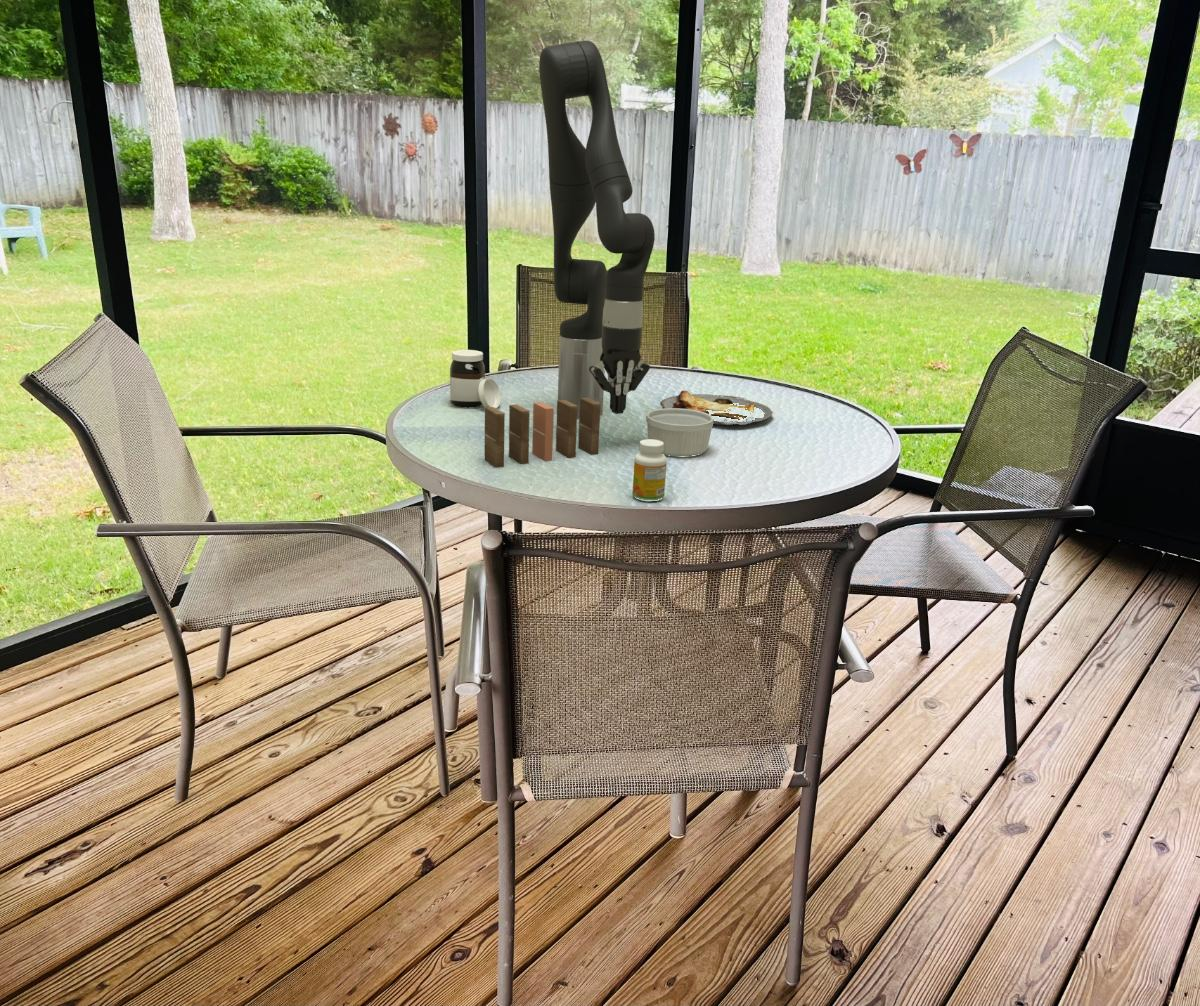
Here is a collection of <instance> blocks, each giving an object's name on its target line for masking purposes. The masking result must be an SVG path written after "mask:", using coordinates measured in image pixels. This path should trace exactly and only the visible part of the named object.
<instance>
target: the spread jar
mask: <svg viewBox="0 0 1200 1006" xmlns="http://www.w3.org/2000/svg"><path fill="white" fill-rule="evenodd" d="M451 359H452V361H451V363H450V368H449V392H450V394H449V396H450V398H449V399H450V403H451V405H453V406H454V407H457V408H463V407H467V408H466V409H470V408H469V407H474V408H480V407H481V406H483V407H484V409H485V408H486V407H494V408H496V409H498V407H499V406H500V403H501V396H502V395H501V392H500V388H499V385H498V383H497V382H496V381H495V380H494V379H493V378H491V377H488V378H486V368H485V367H486V366H485V364H484V353H483V351H479V350H477V349H476V350H475V349H459V350H453V351H452V353H451ZM479 406H480V407H479Z"/></svg>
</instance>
